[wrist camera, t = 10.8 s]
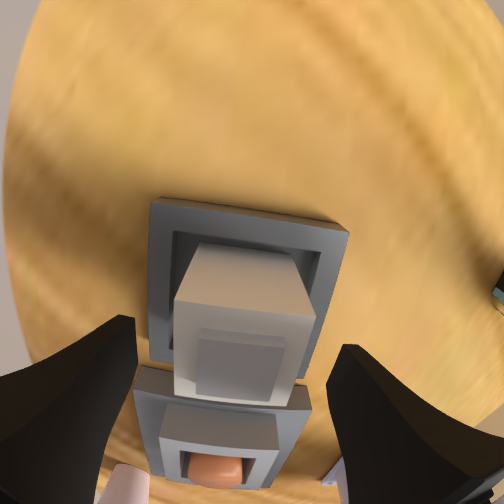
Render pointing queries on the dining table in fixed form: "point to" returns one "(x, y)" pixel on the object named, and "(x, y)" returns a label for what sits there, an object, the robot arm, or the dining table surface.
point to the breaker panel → (215, 430)
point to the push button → (499, 291)
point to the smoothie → (126, 486)
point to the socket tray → (242, 236)
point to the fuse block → (240, 326)
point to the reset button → (215, 470)
